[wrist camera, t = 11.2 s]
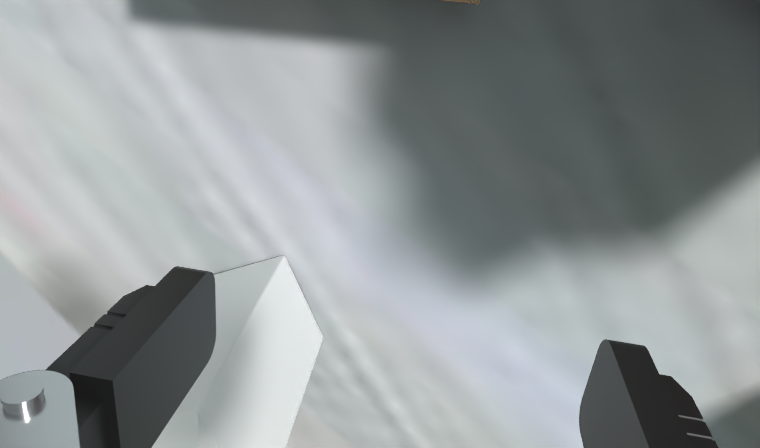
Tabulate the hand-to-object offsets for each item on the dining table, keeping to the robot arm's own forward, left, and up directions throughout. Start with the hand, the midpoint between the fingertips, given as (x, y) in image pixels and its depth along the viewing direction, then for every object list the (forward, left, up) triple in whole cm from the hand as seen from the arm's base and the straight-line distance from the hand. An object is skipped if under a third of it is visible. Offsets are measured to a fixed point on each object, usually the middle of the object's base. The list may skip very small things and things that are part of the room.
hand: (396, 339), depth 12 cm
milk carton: (+10, +17, -24) cm, 31 cm away
